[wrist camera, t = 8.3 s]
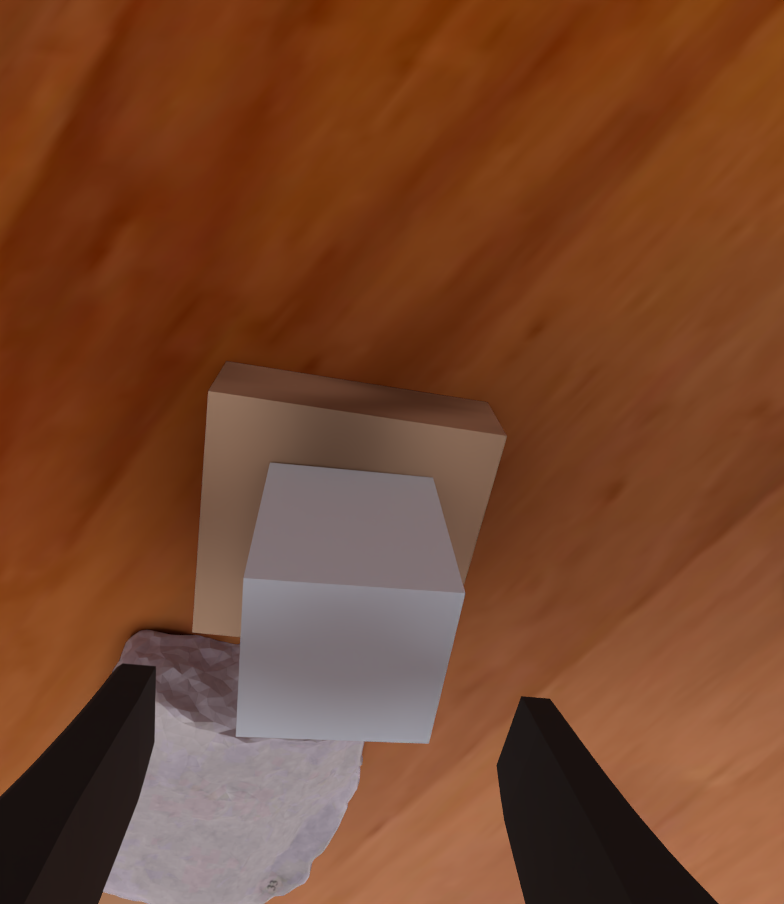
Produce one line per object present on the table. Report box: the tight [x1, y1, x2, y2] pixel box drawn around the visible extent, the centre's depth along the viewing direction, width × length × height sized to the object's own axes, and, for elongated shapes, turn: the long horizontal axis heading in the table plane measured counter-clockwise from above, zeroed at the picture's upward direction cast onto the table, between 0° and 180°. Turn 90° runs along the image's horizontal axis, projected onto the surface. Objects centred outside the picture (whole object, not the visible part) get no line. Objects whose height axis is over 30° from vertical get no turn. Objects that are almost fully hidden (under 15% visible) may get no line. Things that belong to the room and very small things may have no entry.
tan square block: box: [192, 361, 507, 637], centre depth 19 cm, size 8×8×3 cm
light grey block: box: [236, 463, 465, 744], centre depth 16 cm, size 4×4×5 cm
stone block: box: [103, 630, 365, 904], centre depth 24 cm, size 12×5×10 cm
